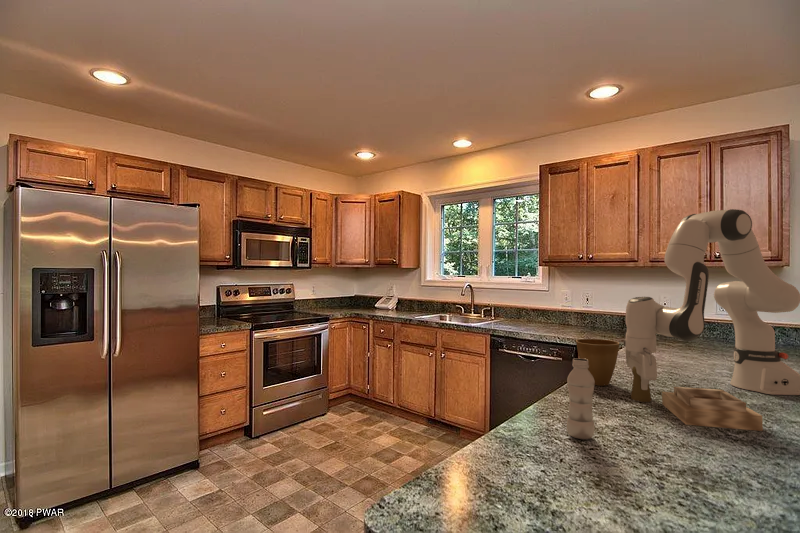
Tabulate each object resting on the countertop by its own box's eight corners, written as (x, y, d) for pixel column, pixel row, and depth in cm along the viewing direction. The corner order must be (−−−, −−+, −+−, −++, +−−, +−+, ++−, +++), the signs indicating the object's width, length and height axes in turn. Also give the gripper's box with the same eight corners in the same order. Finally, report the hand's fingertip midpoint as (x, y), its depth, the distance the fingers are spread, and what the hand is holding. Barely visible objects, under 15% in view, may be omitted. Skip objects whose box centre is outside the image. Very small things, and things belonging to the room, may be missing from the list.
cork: (654, 402, 133) (654, 368, 134) (634, 401, 135) (634, 367, 135) (647, 397, 139) (647, 364, 139) (628, 395, 141) (627, 363, 141)
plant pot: (621, 381, 159) (620, 340, 159) (617, 391, 146) (617, 346, 146) (579, 376, 167) (579, 336, 167) (572, 384, 154) (572, 342, 154)
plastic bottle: (562, 433, 109) (561, 357, 109) (586, 432, 109) (586, 356, 109) (574, 443, 102) (574, 362, 102) (600, 442, 103) (600, 362, 103)
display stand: (727, 409, 127) (727, 388, 127) (762, 431, 110) (762, 406, 110) (662, 404, 132) (662, 383, 132) (685, 424, 114) (685, 401, 114)
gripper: (662, 351, 126) (663, 396, 126) (641, 340, 146) (641, 379, 146) (640, 350, 128) (640, 395, 128) (622, 340, 148) (622, 378, 148)
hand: (640, 386), depth 137 cm, fingers closed on cork, 5 cm apart
